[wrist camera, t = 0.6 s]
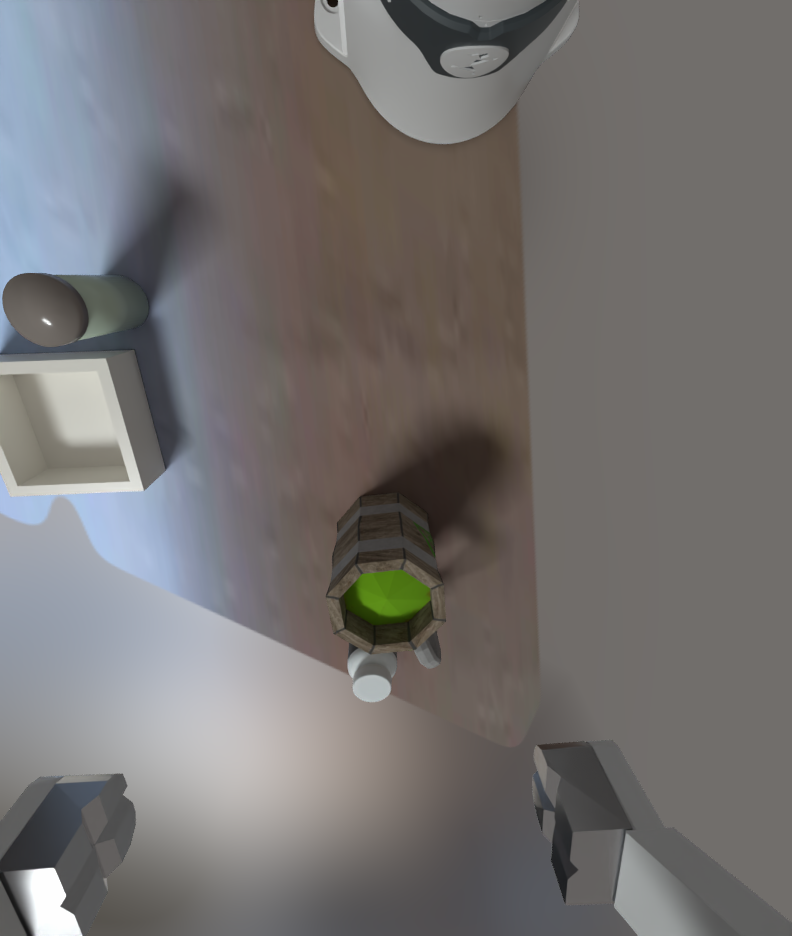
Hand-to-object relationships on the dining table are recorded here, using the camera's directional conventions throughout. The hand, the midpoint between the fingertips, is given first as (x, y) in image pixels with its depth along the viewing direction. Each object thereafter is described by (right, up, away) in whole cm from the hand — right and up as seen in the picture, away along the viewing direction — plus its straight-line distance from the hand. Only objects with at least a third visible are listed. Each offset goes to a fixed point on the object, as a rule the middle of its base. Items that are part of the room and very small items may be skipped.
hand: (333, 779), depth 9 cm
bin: (-28, +11, +33) cm, 45 cm away
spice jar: (-23, +21, +30) cm, 43 cm away
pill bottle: (-2, -12, +45) cm, 47 cm away
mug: (+1, -3, +41) cm, 41 cm away
